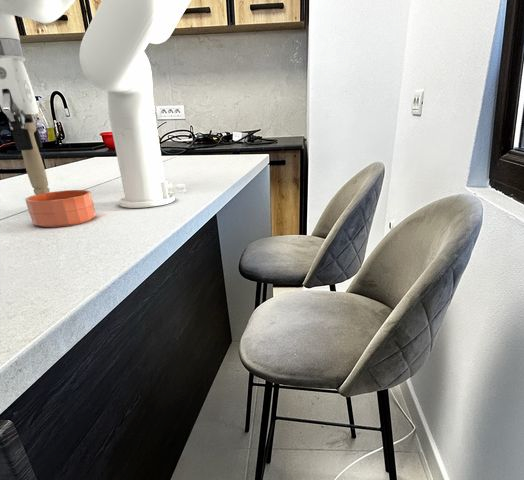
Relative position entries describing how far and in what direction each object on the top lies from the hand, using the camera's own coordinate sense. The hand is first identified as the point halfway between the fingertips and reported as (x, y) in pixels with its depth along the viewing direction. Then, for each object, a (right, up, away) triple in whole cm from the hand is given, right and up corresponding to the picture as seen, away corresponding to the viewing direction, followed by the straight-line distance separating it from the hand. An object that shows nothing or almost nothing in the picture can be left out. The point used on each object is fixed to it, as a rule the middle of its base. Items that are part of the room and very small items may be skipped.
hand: (30, 148), depth 96 cm
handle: (0, -9, +5) cm, 10 cm away
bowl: (+12, -19, -9) cm, 24 cm away
